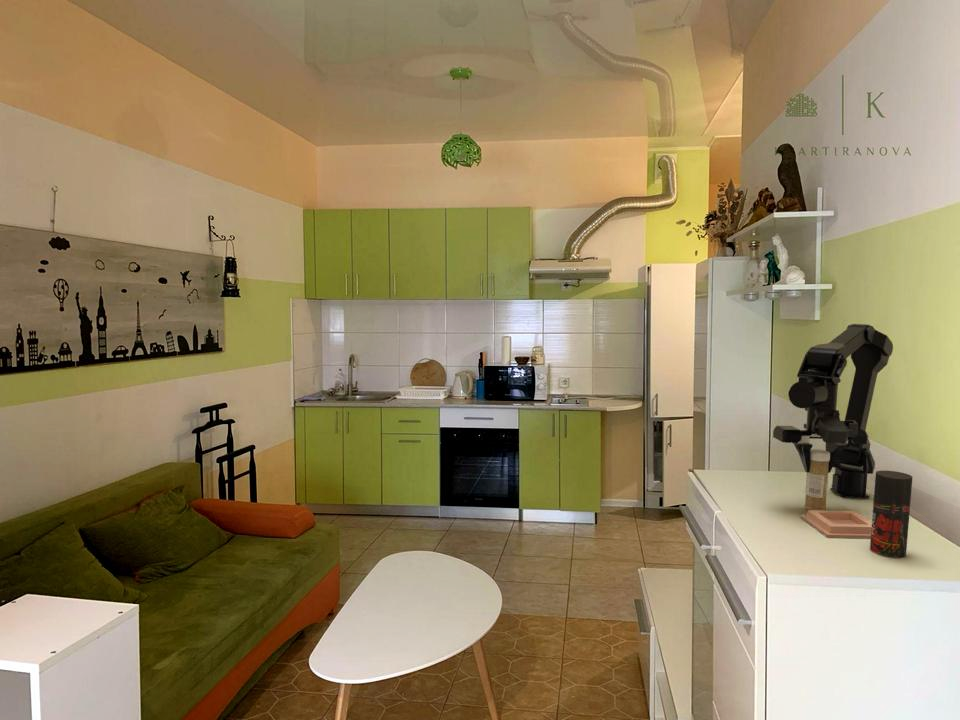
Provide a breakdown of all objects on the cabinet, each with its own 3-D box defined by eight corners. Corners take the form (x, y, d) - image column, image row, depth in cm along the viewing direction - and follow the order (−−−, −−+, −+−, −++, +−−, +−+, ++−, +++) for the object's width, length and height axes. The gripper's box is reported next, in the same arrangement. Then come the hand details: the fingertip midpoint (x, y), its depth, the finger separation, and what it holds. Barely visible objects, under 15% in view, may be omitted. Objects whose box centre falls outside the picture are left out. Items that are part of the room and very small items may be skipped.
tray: (855, 518, 149) (856, 509, 149) (887, 538, 137) (888, 529, 137) (800, 517, 149) (800, 508, 149) (827, 537, 137) (828, 528, 137)
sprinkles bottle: (830, 510, 155) (834, 451, 153) (818, 513, 152) (823, 454, 151) (811, 504, 158) (815, 447, 157) (799, 508, 156) (803, 449, 154)
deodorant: (862, 546, 133) (868, 470, 131) (892, 545, 134) (898, 470, 132) (883, 558, 127) (889, 479, 126) (913, 557, 128) (920, 479, 126)
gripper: (796, 409, 145) (791, 481, 146) (885, 411, 145) (879, 483, 146) (774, 400, 156) (770, 468, 158) (856, 402, 156) (851, 469, 157)
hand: (817, 472), depth 154 cm, fingers closed on sprinkles bottle, 4 cm apart
